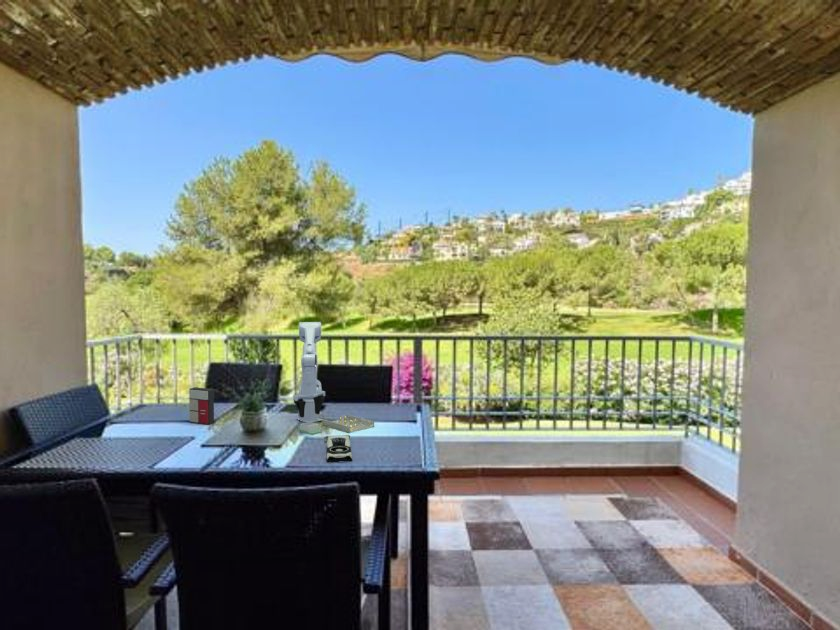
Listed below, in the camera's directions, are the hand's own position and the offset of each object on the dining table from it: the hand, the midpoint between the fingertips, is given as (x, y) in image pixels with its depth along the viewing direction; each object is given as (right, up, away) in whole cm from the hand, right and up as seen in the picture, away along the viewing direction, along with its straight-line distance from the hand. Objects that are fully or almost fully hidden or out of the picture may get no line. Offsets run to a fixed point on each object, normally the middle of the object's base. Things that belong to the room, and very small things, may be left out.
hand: (309, 415), depth 237 cm
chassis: (+15, -6, +10) cm, 19 cm away
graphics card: (+15, -9, -26) cm, 32 cm away
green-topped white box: (0, -7, +1) cm, 7 cm away
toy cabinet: (-50, -6, +14) cm, 52 cm away
